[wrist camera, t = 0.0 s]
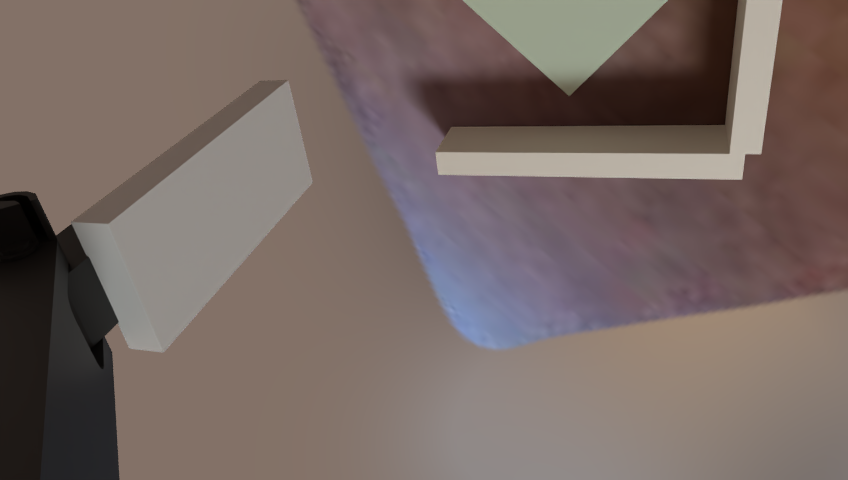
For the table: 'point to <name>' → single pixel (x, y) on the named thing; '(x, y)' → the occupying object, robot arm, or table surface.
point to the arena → (615, 145)
